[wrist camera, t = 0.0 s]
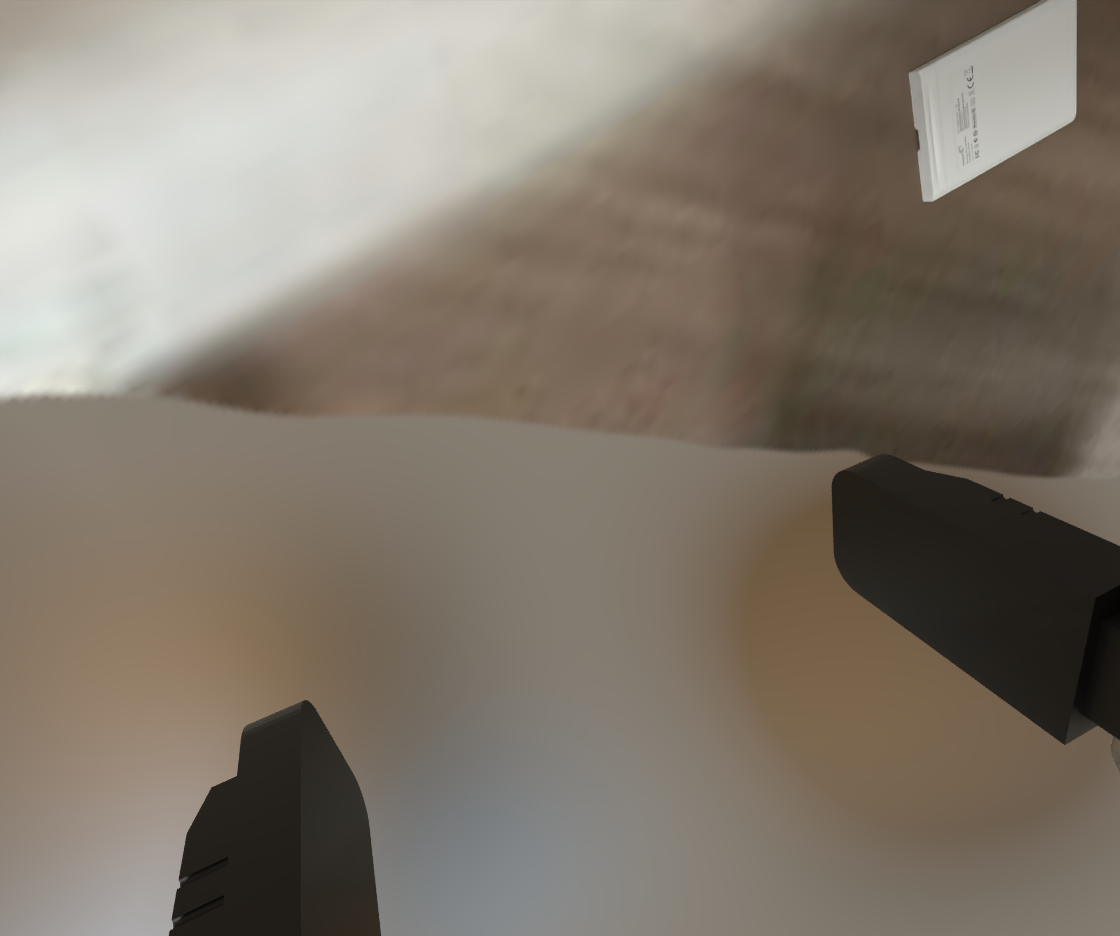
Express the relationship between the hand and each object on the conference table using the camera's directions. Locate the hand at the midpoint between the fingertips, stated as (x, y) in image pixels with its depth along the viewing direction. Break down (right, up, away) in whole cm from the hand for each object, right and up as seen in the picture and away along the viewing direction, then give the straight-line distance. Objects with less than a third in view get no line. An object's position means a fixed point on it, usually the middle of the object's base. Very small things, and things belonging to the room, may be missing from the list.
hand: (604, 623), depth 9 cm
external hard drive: (+28, +27, +34) cm, 52 cm away
